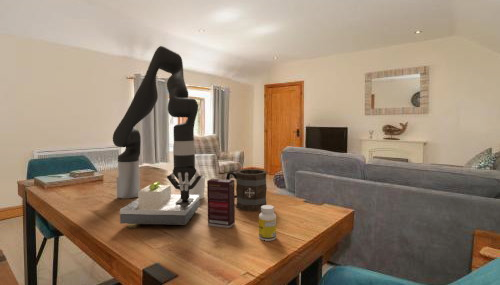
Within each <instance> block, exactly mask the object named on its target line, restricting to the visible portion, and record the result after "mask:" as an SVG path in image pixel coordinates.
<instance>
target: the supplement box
mask: <svg viewBox="0 0 500 285" xmlns="http://www.w3.org/2000/svg"><path fill="white" fill-rule="evenodd" d="M206 183H207V186H206V187H207V192H206V193H207V226H210V227H211V226H212V227H216V228H217V227H220V228H226V229H230V228H232V227H233V226H234V225H235V224H236V217H235V216H236V214H235V212H236V210H235V208H236V207H235V206H236V204H235V200H236V198H235V195H236V194H235V193H236V192H235V179H230V180H229V179H226V178H214V177H213V178H211V179H209V180H207V181H206Z"/></svg>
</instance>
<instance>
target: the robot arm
mask: <svg viewBox="0 0 500 285" xmlns="http://www.w3.org/2000/svg"><path fill="white" fill-rule="evenodd" d="M183 63H184V62H183V58H182V57H181V55H180V54H179V53H177V52H176V51H174V50H172V49H169V48H168V47H166V46H164V45H160V46H158V47H157V48H156V50H155V52H154V53H153V56H152V58H151V61H150V62H149V65H148V68H147V69H146V72H145V75H144V77H143V79H142V81H141V83H140V85H139V87H138V89H137V90H136V92H135V94H134V96H133V97H132V101H131V102H130V105H129V106H128V108H127V109H126V110H127V111H126V112H125V114H124V116H123V118H122V119H121V120H120V122H119V123H118V125H117V126H116V128H115V129H114V132H113V134H112V143H113V145H114V146H116V147H117V148H125V149H124V151H123V152H122V153H120V154H119V155H118V156H117V176H118V177H116V178H115V179H116V198H117V199H118V198H119V199H124V200H125V199H134V198H138V191H140V190H141V188H140V155H141V143H142V140H141V133H140V130H139V129H138V128H136V126H137V124H139V123H140V122H141V121H142V120H144V119H145V118H146V117H147V116H148V115H149V114H151V112H152V111H153V109H154V108H155V105H156V104H157V102H158V99H159V97H158V96H159V94H158V88H157V74H158V72H159V71H160V70H161V71H164V72H166V73H168V74H171V75H170V76H169V77H168V79H167V81H166V88H167V92H168V96H169V98H168V104H167V112H168V114H169V115H170V116H171V117H173V118H186V121H184V122H183V123H177V124H175V125H174V126H173V148H172V150H173V152H172V154H173V169H172V172H171V174H168V175H167V176H166V179H167V180H168V181H169V182H170V185H172V186H173V187H174V189H175V190H179V191H180V195H181V199H182V201H187V200H188V199H189V195H190V194H189V190H190V189H193V188H194V187H195V185H196V184H197V183H198V182H199V180H200V179H201V178H202V176H203V174H200V173H198V171H197V169H196V155H195V154H196V149H195V137H194V136H195V135H194V131H195V123H196V119H197V115H198V111H199V104H198V102H197V100H196V98H193V97H189V91H188V88H187V85H186V82H185V78H184V65H183ZM194 176H195V181H194V182H193V183H192V185H190V181H191V179H192V178H193V177H194Z"/></svg>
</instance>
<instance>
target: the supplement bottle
mask: <svg viewBox="0 0 500 285" xmlns="http://www.w3.org/2000/svg"><path fill="white" fill-rule="evenodd" d="M260 211H261V212H260V213H259V215H258V237H259V239H260V240H262V241H264V240H265V241H266V242H270V241H274V240H276V239H277V215H276V213H274V212H275V207H274V206H273V205H270V204H267V205H263V206H261V210H260Z"/></svg>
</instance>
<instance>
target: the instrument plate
mask: <svg viewBox="0 0 500 285" xmlns="http://www.w3.org/2000/svg"><path fill="white" fill-rule="evenodd" d="M198 200H199V201H200V199H199V195H190V194H189V199H188V200H187V201H182V199H181V194H171V184H162V183H161V181H156V182H154V183H152V184H149V185H147V186H145V187H143V188H142V189H141V188H140V191H138V197H137V199H135V200H133V201H132V202H130V203H129V204H126V205H125V206H123V207H122V208H120V209H119V215H120V214H145V215H186V214H187V213H188V211H189V210H190V209H191V208H192V207H193V206H194V204H195V203H196V202H197V201H198Z"/></svg>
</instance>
